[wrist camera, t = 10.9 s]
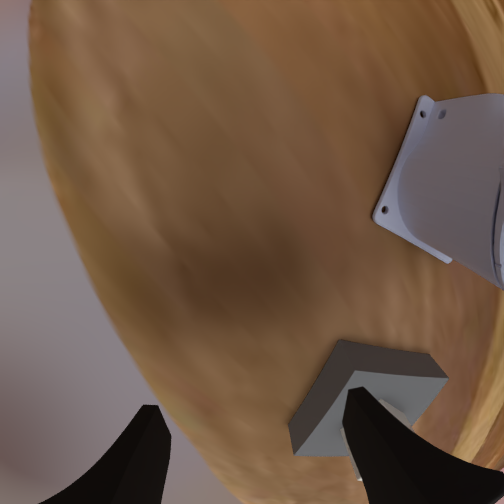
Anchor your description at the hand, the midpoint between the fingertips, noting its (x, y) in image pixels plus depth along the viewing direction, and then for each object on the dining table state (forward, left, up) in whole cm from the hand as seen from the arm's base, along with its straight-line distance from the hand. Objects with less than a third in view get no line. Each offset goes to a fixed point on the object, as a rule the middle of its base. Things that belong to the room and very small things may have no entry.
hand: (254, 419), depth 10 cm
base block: (+5, +13, -10) cm, 17 cm away
